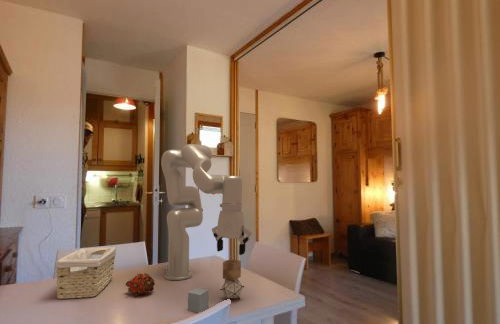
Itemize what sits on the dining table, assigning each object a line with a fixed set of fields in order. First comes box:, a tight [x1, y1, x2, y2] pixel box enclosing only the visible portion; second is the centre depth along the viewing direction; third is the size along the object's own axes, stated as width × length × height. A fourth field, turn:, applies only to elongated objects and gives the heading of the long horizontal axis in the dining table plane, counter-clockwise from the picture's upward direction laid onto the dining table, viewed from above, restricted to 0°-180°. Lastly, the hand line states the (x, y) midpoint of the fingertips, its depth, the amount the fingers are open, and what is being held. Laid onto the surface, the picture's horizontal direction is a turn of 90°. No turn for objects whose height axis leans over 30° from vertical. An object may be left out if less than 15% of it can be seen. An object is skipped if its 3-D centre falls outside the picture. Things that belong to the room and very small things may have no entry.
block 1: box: [187, 287, 209, 314], centre depth 101 cm, size 5×5×6 cm
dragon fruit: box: [125, 272, 156, 297], centre depth 116 cm, size 8×8×12 cm
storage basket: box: [55, 246, 117, 300], centre depth 122 cm, size 24×16×15 cm
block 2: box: [222, 258, 242, 280], centre depth 111 cm, size 5×5×6 cm
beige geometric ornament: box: [219, 278, 245, 300], centre depth 110 cm, size 9×8×10 cm
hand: (230, 252), depth 112 cm, fingers open, 9 cm apart
